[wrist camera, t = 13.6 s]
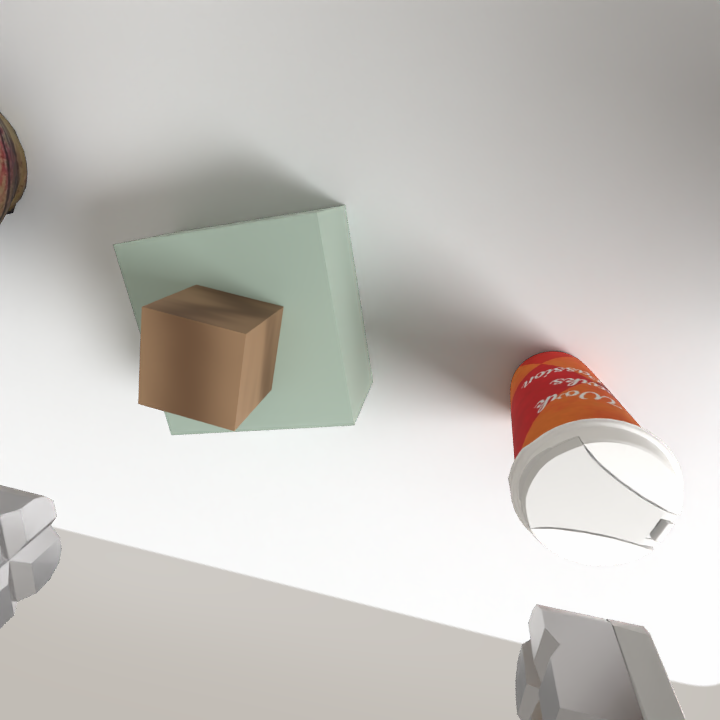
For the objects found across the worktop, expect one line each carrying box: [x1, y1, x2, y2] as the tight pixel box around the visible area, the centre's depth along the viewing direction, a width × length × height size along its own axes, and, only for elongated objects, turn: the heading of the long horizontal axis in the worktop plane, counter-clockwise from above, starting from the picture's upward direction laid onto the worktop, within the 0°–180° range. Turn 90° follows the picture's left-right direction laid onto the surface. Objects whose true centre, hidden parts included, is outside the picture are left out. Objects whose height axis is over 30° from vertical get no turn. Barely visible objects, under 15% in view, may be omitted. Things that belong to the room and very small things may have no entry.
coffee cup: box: [508, 351, 683, 566], centre depth 31 cm, size 8×8×15 cm
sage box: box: [113, 205, 373, 435], centre depth 37 cm, size 14×14×8 cm
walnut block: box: [138, 285, 284, 431], centre depth 30 cm, size 6×6×6 cm
